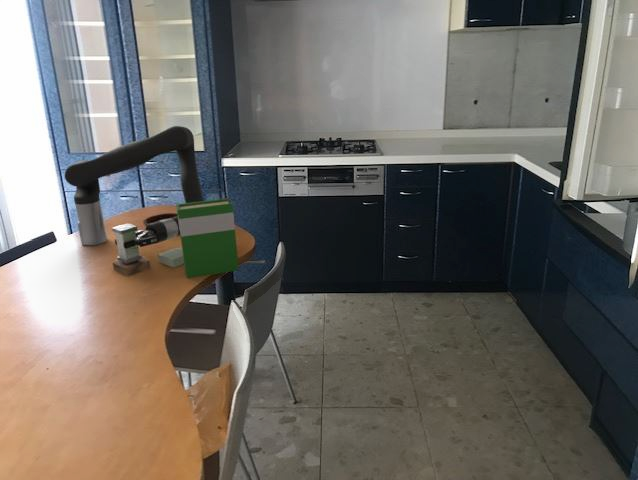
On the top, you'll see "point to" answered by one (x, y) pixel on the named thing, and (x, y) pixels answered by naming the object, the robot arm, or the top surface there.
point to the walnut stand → (131, 267)
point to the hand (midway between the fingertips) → (120, 244)
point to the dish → (159, 218)
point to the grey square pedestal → (124, 235)
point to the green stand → (172, 257)
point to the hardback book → (208, 237)
